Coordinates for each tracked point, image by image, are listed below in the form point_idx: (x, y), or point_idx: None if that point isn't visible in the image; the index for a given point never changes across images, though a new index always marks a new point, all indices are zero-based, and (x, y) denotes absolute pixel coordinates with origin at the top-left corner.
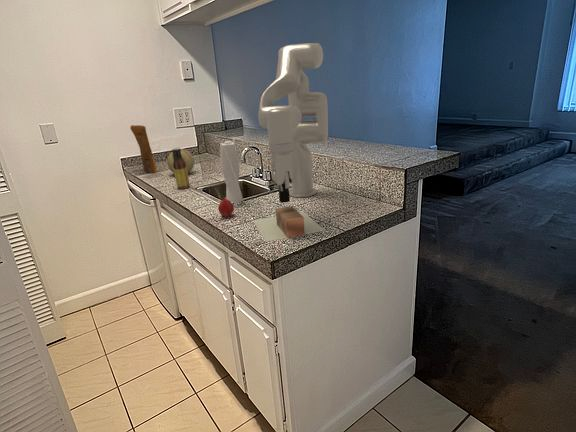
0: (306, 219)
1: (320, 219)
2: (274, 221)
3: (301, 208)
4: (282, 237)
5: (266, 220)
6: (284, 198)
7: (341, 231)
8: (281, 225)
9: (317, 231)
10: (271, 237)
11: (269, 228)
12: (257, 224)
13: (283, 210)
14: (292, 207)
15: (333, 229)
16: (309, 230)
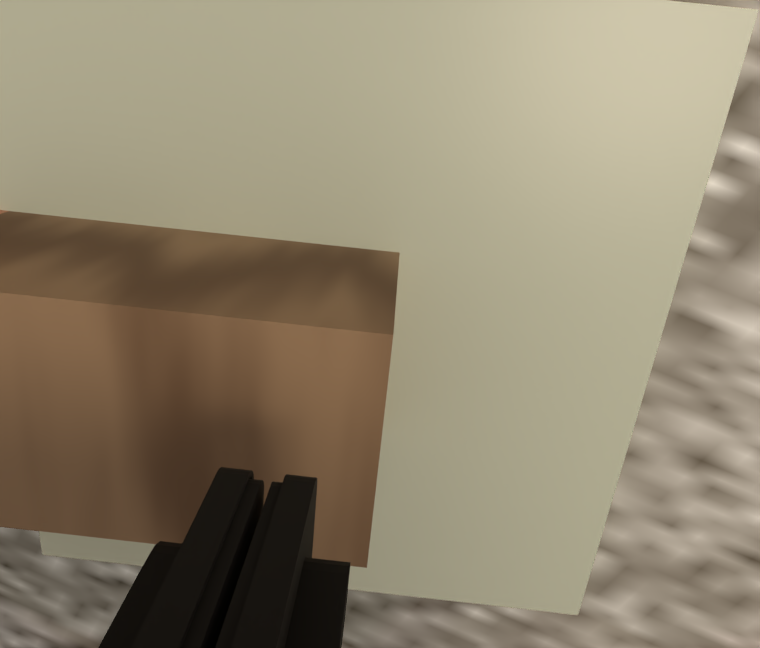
0: None
1: None
2: (514, 267)
3: (698, 636)
4: (8, 163)
5: (613, 192)
6: (146, 584)
7: (15, 638)
8: (163, 248)
9: None
10: (53, 42)
11: (333, 126)
12: (560, 24)
13: (248, 406)
14: None
15: (75, 615)
16: None
